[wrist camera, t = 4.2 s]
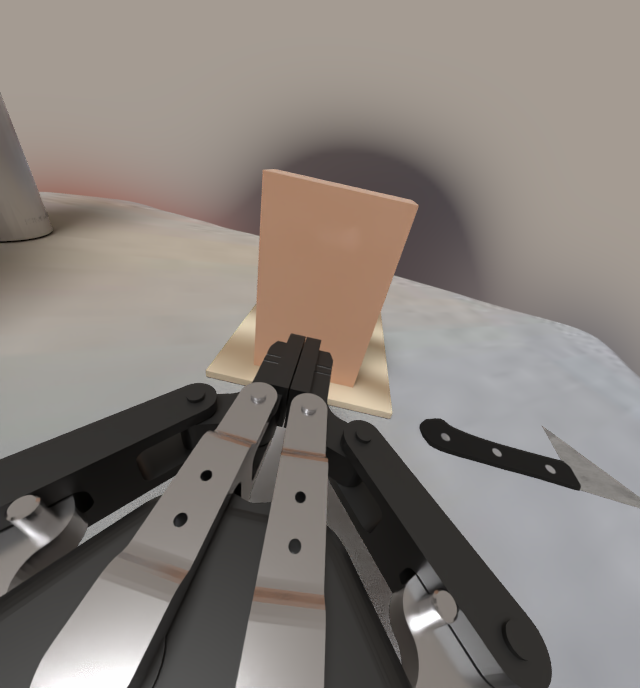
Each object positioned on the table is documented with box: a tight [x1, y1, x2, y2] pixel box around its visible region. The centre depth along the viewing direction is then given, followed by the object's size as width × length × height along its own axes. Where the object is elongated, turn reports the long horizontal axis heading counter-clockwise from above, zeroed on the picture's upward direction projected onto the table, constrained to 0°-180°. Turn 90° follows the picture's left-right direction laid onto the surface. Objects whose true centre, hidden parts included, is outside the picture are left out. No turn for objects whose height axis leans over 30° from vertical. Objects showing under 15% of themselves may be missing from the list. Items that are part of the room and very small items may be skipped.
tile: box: [254, 169, 419, 388], centre depth 18 cm, size 2×8×13 cm, turn 82°
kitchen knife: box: [420, 418, 640, 508], centre depth 21 cm, size 29×1×10 cm
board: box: [206, 303, 392, 419], centre depth 27 cm, size 19×14×1 cm
